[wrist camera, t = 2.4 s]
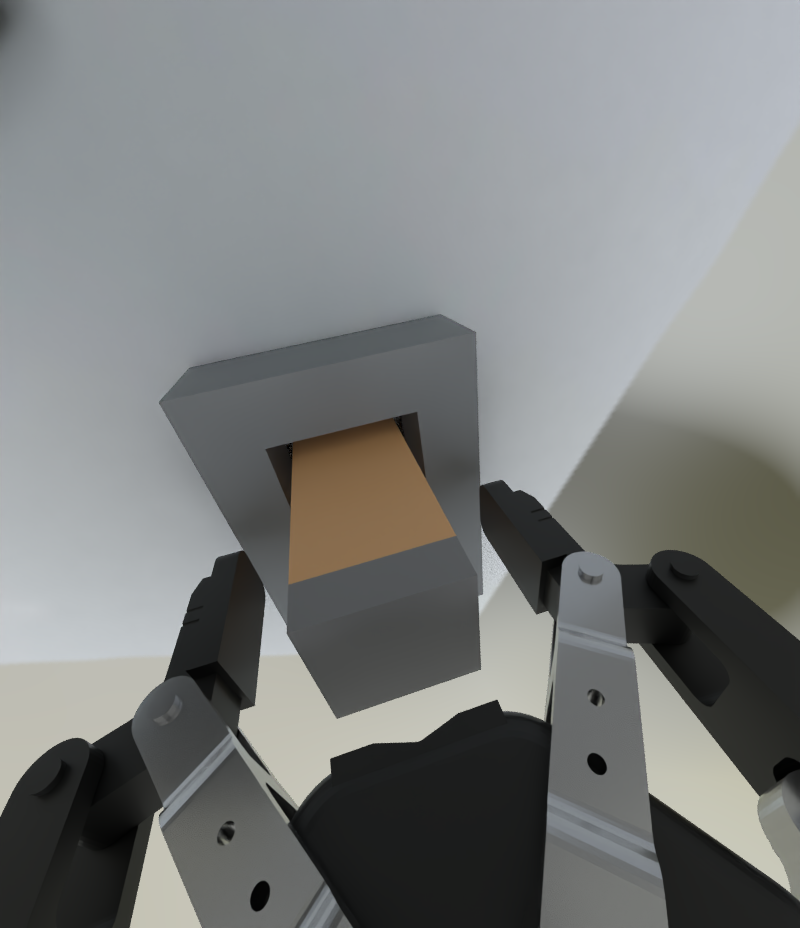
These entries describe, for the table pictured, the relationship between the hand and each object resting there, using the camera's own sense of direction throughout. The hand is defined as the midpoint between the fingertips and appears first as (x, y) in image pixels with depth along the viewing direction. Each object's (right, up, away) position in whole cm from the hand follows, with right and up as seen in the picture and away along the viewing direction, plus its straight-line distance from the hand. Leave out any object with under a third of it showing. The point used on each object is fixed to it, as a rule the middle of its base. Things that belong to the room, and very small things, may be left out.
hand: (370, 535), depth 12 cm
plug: (-1, +3, +5) cm, 6 cm away
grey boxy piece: (-1, +2, +6) cm, 6 cm away
